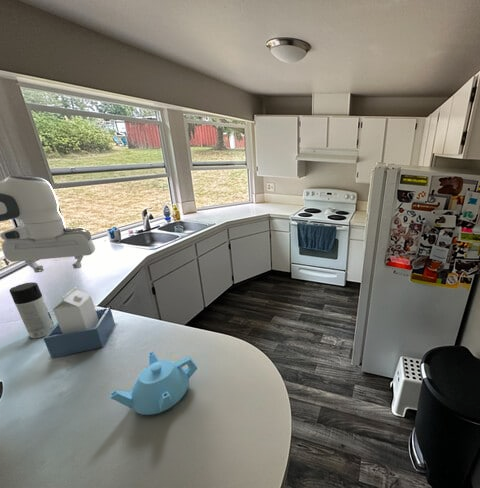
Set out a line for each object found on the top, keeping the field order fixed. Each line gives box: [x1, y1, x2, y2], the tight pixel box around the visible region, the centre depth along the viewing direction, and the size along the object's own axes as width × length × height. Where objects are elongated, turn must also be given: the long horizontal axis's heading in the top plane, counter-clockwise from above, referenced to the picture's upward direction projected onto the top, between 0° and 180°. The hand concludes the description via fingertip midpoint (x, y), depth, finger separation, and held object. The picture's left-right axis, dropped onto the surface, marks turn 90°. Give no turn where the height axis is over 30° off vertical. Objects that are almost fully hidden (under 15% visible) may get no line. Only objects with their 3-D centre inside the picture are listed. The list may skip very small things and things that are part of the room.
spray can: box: [9, 282, 56, 339], centre depth 91 cm, size 7×7×20 cm
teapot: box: [109, 351, 198, 416], centre depth 70 cm, size 15×15×11 cm
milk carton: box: [52, 286, 99, 334], centre depth 88 cm, size 7×7×19 cm
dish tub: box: [42, 307, 116, 358], centre depth 90 cm, size 14×14×8 cm
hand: (59, 269), depth 82 cm, fingers open, 8 cm apart
